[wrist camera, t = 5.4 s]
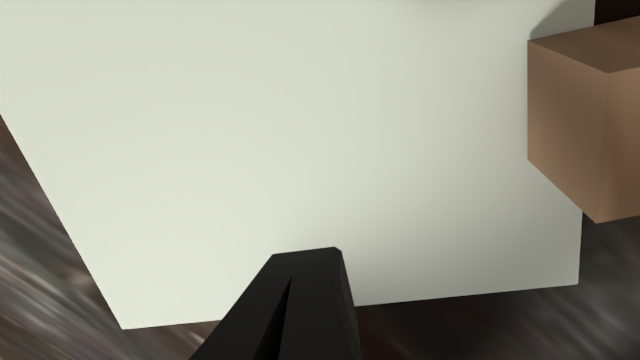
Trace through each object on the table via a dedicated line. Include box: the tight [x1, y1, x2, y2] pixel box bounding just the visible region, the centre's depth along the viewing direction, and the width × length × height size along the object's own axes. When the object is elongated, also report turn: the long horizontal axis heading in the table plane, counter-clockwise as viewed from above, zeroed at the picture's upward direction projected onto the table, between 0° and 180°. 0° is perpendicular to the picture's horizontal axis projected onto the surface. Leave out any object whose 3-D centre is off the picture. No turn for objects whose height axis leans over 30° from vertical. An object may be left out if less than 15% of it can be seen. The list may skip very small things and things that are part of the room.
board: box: [0, 0, 595, 329], centre depth 17 cm, size 16×20×1 cm
